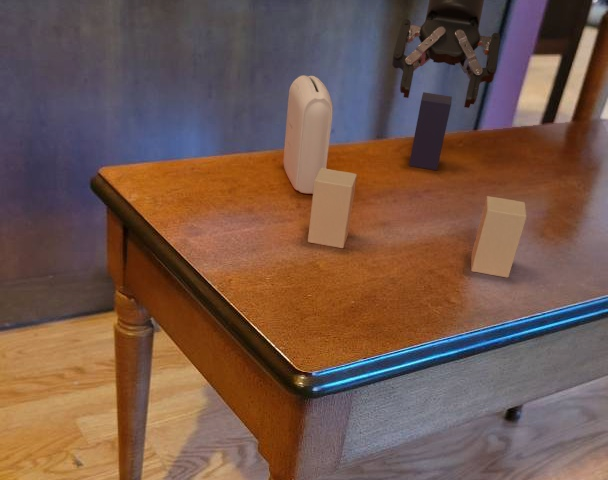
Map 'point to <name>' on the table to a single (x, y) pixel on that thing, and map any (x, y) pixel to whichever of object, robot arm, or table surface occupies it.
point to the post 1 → (331, 207)
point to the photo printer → (307, 132)
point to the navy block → (430, 130)
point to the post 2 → (498, 236)
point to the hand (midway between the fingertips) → (436, 99)
